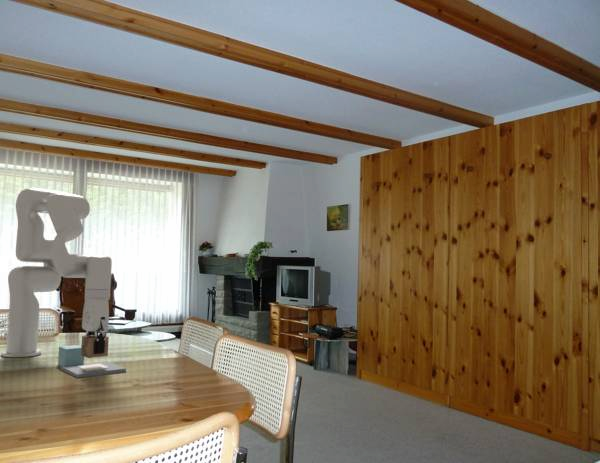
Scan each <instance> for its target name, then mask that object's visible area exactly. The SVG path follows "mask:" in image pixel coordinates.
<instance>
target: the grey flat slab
mask: <svg viewBox="0 0 600 463" xmlns="http://www.w3.org/2000/svg"><path fill="white" fill-rule="evenodd" d="M59 369H60V371H62V372H64V373H66V374H69V375H71V376H72V377H75V378H77V379H79V378H87V377H94V376H95V377H96V376H102V375H111V374H118V373H126V372H127V368H126V367H123V366H121V365H118V364H115V363H113V362H111V361H107V360H106V361H97V362H89V363H87V362H86V363H84V364H77V365H68V366H60V368H59Z"/></svg>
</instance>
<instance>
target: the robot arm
mask: <svg viewBox="0 0 600 463" xmlns="http://www.w3.org/2000/svg"><path fill="white" fill-rule="evenodd" d="M90 211H91V206H90V202H89V201H88V199H87V198H86V197H84V196H82V195H77V194H73V193H68V192H64V191H57V190H51V189H50V190H49V189H44V188H35V187H32V188H31V187H30V188H24V189H23V190H21V191H20V192H19V194H18V195H17V197H16V199H15V212H16V213H15V214H16V216H17V229H16V240H15V241H16V242H15V256H16V259H17V260H18V261H20V262H22V263H43V265H42V266H41V265H39V266H38V265H21V266H16V267H13V269H11V270H10V271H9V273H8V275H7V276H8V277H7V282H8V289H9V290H8V291H9V306H8V307H9V309H8V311H9V312H8V325H7V340H6V349H5V350H2V351H1V352H0V353H1V356H2V357H5V358H28V357H35V356H40V355H41V354H42V350H41V349H40V348H37V347H38V335H39V333H38V332H39V316H40V315H39V314H40V303H39V300H38V299H37V297H36V295H35V293H49V292H54V291H56V290H57V289H58V288H59V287H60V284H61V279H62V277H63V278H67V279H70V278H71V279H72V278H73V279H76V278H78V279H81V278H82V279H85V285H84V286H85V287H84V304H83V309H82V319H81V328H82V330H84V332H85V335H84V336H89V335H95V339H96V341H94V354H102V353H104V351H105V340H106V336H107V334H108V332H109V319H110V306H109V305H110V304H109V300H111V283H112V268H113V267H112V265H113V261H112V258H111V257H110V256H107V255H93V254H76V253H75V254H74V253H72V254H71V253H69V252H68V249H67V246H66V243H67V242H70V241H73V240H75V239H77V238H79V237H80V236H81V235H82V234H83V232H84V226H83V223H82V221H81V220H84V219H86V218H88V216H89V214H90ZM39 213H40V214H48V216H49V218H50V221H51V223H52V226H53V228H54V231H55V233H56V235H55V237H49V236H44V233H45V232H44V231H45V224H44V221H43V218H42V217H41V215H40V214H39ZM98 335H99V336H98Z"/></svg>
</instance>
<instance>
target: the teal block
mask: <svg viewBox="0 0 600 463" xmlns="http://www.w3.org/2000/svg"><path fill="white" fill-rule="evenodd" d="M81 347H82V345H79V344H74V345H72V344H71V345H61V346H58V356H57V357H58V358H57V359H58V360H57V361H58V363H57V365H58V366H59V367H61V366H68V365H77V364H85V361H84V360H85V357H84V356H82V355H81Z"/></svg>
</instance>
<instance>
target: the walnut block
mask: <svg viewBox="0 0 600 463" xmlns="http://www.w3.org/2000/svg"><path fill="white" fill-rule="evenodd" d="M98 336H99V334H98ZM109 338H110V337H109V336H107V335H106V340H105V351H104V353H102V354H94V341H96V339H95V335H89V336H85V335H81V346H82V347H81V355H82V356H84V358H87V359H92V358H100V357H101V358H103V357H108V356H109V340H110V339H109Z"/></svg>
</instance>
